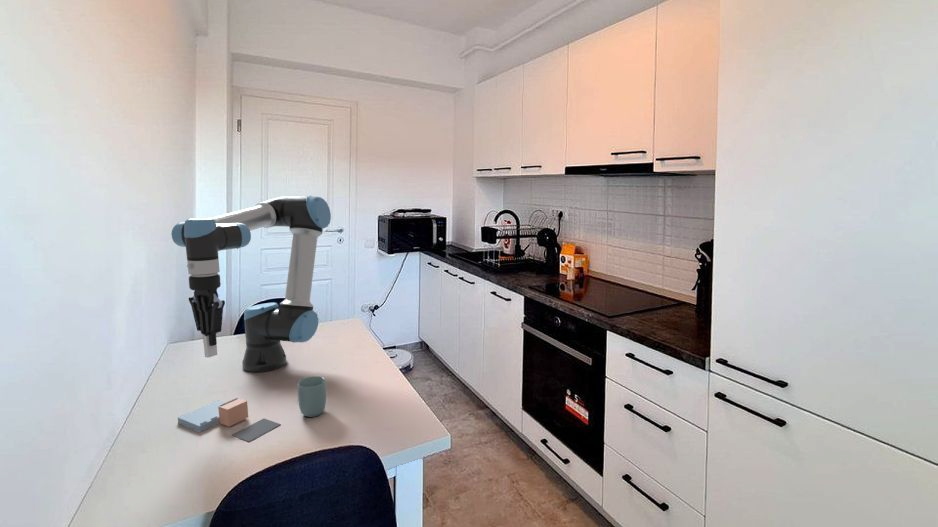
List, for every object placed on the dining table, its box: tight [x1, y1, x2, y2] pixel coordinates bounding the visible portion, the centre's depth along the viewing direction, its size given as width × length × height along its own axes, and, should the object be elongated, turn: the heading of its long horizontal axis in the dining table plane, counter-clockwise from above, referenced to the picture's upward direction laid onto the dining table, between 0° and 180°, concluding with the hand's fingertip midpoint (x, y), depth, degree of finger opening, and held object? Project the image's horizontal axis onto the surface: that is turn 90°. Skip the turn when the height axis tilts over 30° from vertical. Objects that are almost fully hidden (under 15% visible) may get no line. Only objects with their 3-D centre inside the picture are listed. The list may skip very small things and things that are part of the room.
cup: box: [296, 375, 327, 418], centre depth 131 cm, size 8×8×10 cm
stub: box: [218, 397, 249, 427], centre depth 126 cm, size 4×6×5 cm, turn 153°
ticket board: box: [177, 400, 226, 433], centre depth 129 cm, size 10×12×2 cm
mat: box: [231, 418, 281, 443], centre depth 123 cm, size 7×10×1 cm
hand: (211, 355), depth 128 cm, fingers closed
